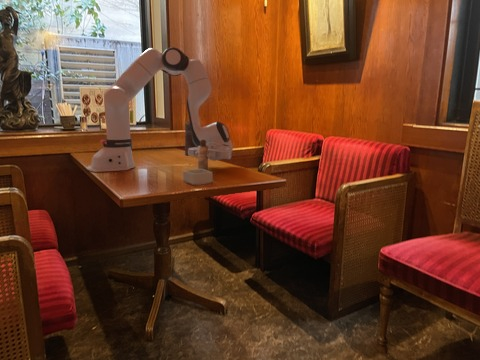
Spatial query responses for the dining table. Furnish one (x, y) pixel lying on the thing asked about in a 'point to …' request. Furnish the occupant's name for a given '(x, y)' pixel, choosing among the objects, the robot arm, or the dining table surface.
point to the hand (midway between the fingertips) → (202, 155)
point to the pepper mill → (202, 155)
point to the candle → (188, 138)
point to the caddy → (197, 176)
